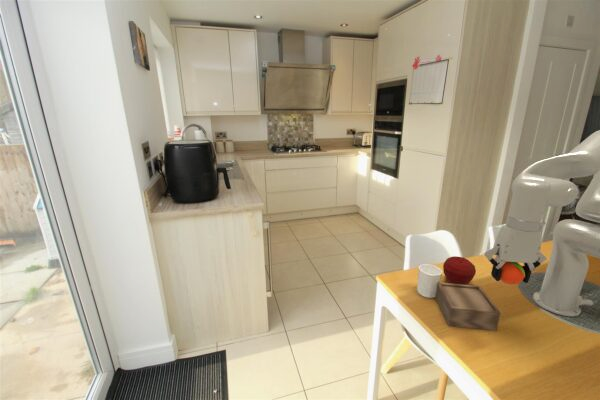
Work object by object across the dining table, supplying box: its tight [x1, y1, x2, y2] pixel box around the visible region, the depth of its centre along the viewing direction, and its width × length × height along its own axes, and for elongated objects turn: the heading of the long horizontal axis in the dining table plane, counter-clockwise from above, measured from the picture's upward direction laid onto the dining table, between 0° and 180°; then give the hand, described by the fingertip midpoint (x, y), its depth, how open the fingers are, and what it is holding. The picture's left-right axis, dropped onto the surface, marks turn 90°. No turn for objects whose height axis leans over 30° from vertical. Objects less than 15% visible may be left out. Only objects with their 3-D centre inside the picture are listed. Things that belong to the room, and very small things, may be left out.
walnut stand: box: [434, 282, 501, 332], centre depth 93 cm, size 14×14×7 cm
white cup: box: [416, 263, 443, 299], centre depth 104 cm, size 8×8×10 cm
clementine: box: [500, 262, 525, 285], centre depth 82 cm, size 8×7×7 cm
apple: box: [442, 256, 477, 285], centre depth 109 cm, size 11×11×12 cm
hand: (509, 279), depth 82 cm, fingers closed on clementine, 7 cm apart
